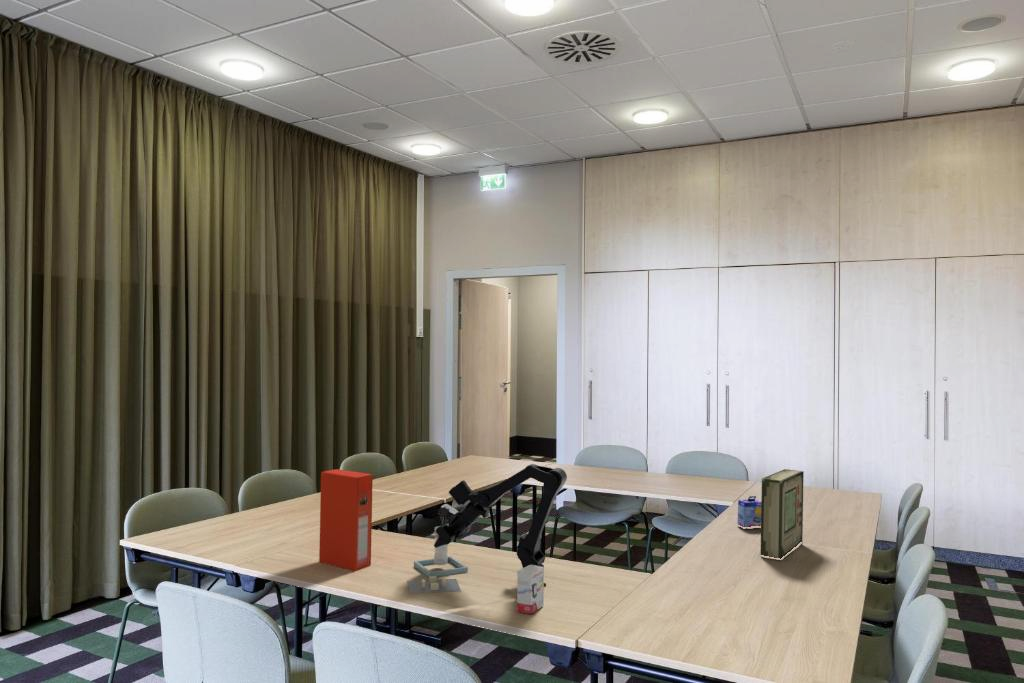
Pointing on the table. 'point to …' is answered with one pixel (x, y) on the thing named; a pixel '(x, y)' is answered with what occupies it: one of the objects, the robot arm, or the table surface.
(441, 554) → the white cylinder
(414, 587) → the board
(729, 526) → the table surface
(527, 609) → the ink box
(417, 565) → the tray
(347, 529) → the file binder
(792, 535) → the control panel
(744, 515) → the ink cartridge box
